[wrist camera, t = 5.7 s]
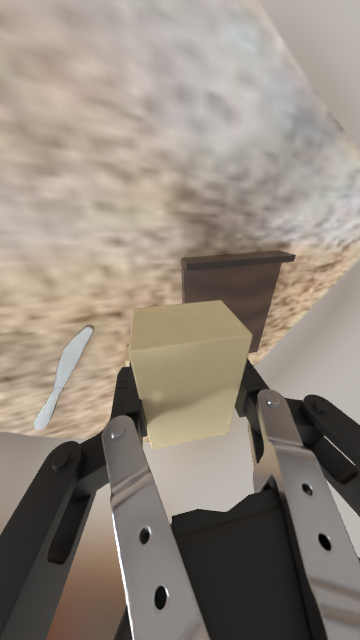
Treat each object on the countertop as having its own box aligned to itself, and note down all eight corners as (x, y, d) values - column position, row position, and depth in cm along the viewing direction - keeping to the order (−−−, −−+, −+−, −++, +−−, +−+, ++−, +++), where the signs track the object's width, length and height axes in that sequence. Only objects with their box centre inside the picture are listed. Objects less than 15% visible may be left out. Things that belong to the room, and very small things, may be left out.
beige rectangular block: (133, 308, 9) (127, 351, 6) (221, 299, 10) (253, 334, 7) (149, 398, 13) (151, 450, 10) (211, 388, 14) (228, 433, 11)
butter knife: (25, 428, 33) (43, 431, 34) (77, 322, 24) (98, 331, 25) (27, 425, 33) (44, 428, 34) (78, 320, 24) (99, 328, 25)
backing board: (181, 258, 22) (186, 264, 19) (278, 250, 24) (296, 254, 21) (184, 358, 32) (188, 372, 29) (254, 347, 34) (263, 359, 31)
